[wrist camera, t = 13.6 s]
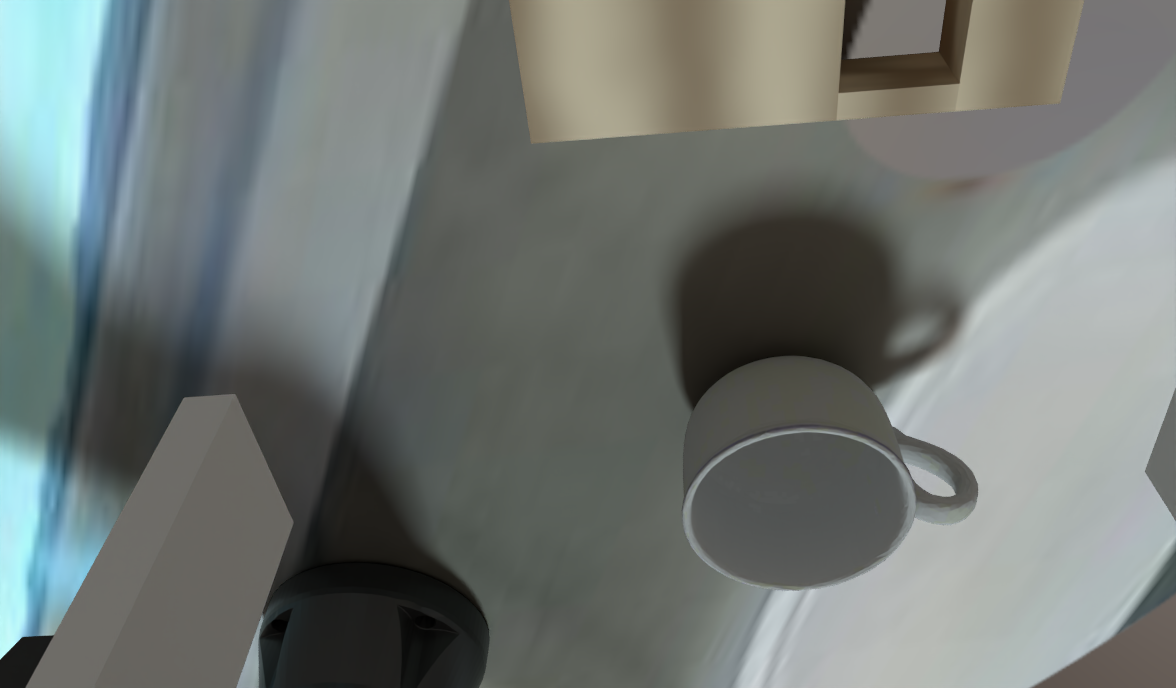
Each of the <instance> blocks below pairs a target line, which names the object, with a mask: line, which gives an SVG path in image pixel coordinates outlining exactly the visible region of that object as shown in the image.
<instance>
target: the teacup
mask: <svg viewBox="0 0 1176 688" xmlns="http://www.w3.org/2000/svg"><path fill="white" fill-rule="evenodd" d="M904 463H907V464H910V465H913V466H916V467H919V468H921V469H924V470H926V471H928V472H930V473H932V474H934V475H936V476H938V477H939V478H941V479H942V480H944V481H945V482H946V483H948V484H949V485H950V486H951V487H952V488H953V489H954V491H955V493H956V495H954V496H951V497H942V496H937V495H932V494H930V493H928V492H926V491H925V490H923V489H922V488H921V487H920V486H918V485H917V484H916V483H915V481H914V480H913V479H912V477H911V475H910V472H909V470H908V468H907V467H906V465H905V464H904ZM683 484H684V500H683V506H682V522H683V527H684V531H685V535H686V537H687V539H688V541H689V543H690V545H691V547H692V548H693V550H694V551H695V552H696V553H697V554H698V555H699V557H700V558H701V559H702V560H703V561H704V562H706V563H707V564H708V565H709V566H711V567H712V568H713V569H715V570H716V571H718V572H720V573H722V574H723V575H725V576H727V577H729V578H731V579H733V580H736V581H739V582H741V583H744V584H748V585H751V586H754V587H759V588H763V589H772V590H784V591H788V590H792V591H799V590H806V589H819V588H823V587H828V586H833V585H837V584H840V583H843V582H846V581H849V580H851V579H853V578H856V577H858V576H860V575H862V574H864V573H866V572H868V571H870V570H872V569H873V568H875V567H876V566H877V565H879V564H880V563H882V562H883V561H885V560H886V559H887V558H888V557H889V556H890V555H891V554H892V553H893V552H894V551H895V550H896V549H897V548H898V546H899V545H900V544H901V542H902V541H903V540H904V538H905V536H906V535H907V533H908V532H909V530H910V528H911V526H912V523H913V521H914V517H915V518H917V519H919V520H922V521H925V522H928V523H932V524H939V525H952V524H955V523H958V522H960V521H962V520H964V519H966V518H967V517H968V516H969V514H970V513H971V512H972V511H973V509H974V508H975V505H976V502H977V497H978V483H977V481H976V479H975V476H974V474H973V472H972V471H971V470H970V469H969V467H968V466H967V465H966V464H965V463H964V462H963V461H962V460H960V459H959V458H957V457H956V456H954V455H953V454H951V453H949V452H947V451H946V450H944V449H942V448H940V447H937V446H935V445H932V444H930V443H927V442H924V441H921V440H918V439H915V438H912V437H909V436H906V435H904V434H903V433H902V432H901V431H899V430H898V429H896V428H895V427H892V425H891V423H890V421H889V418H888V416H887V414H886V412H885V410H884V408H883V406H882V404H881V402H880V401H879V399H878V397H877V396H876V395H875V394H874V392H873V391H872V390H871V389H870V388H869V387H868V386H867V385H866V384H865V383H864V382H863V381H862V380H861V379H860V378H858V377H857V376H856V375H854V374H853V373H852V372H850V371H848V370H846V369H844V368H843V367H841V366H838V365H836V364H833V363H830V362H828V361H825V360H822V359H816V358H811V357H805V356H779V357H771V358H767V359H762V360H758V361H755V362H752V363H749V364H746V365H744V366H741V367H739V368H737V369H735V370H733V371H732V372H730V373H728V374H726V375H725V376H724V377H722V378H721V379H720V380H718V381H717V382H716V383H715V384H714V385H713V386H711V387H710V388H709V389H708V390H707V391H706V393H705V394H704V395H703V396H702V397H701V399H700V400H699V402H698V403H697V405H696V407H695V409H694V410H693V412H692V414H691V417H690V419H689V422H688V425H687V429H686V434H685V441H684V452H683Z"/></svg>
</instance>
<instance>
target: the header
mask: <svg viewBox="0 0 1176 688" xmlns="http://www.w3.org/2000/svg"><path fill="white" fill-rule="evenodd" d="M509 3H510V9H511V15H512V22H513V28H514V35H515V41H516V48H517V54H518V61H519V67H520V74H521V80H522V87H523V93H524V100H525V106H526V113H527V119H528V126H529V132H530V138H531V144H532V143H545V142H558V141H571V140H584V139H597V138H611V137H624V136H637V135H650V134H663V133H676V132H690V131H703V130H716V129H729V128H742V127H755V126H769V125H782V124H795V123H808V122H821V121H835V120H848V119H861V118H874V117H886V116H900V115H914V114H927V113H940V112H952V111H966V110H979V109H991V108H1006V107H1017V106H1032V105H1045V104H1059V103H1060V101H1061V97H1062V92H1063V88H1064V84H1065V80H1066V76H1067V71H1068V67H1069V63H1070V59H1071V54H1072V50H1073V45H1074V41H1075V37H1076V33H1077V29H1078V24H1079V20H1080V16H1081V12H1082V7H1083V3H1084V0H946V6H945V13H944V20H943V27H942V34H941V41H940V48H939V52H932V53H920V54H908V55H895V56H883V57H873V58H872V57H871V58H859V59H846V60H841V52H842V38H843V25H844V11H845V0H509Z"/></svg>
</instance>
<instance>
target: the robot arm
mask: <svg viewBox="0 0 1176 688" xmlns="http://www.w3.org/2000/svg"><path fill="white" fill-rule="evenodd" d="M1145 472H1146V474H1147V476H1148V477H1149V479H1150V480H1151V482H1152V484H1153V485H1154V487H1155V488H1156V490H1157V492H1158V493H1159V495H1160V496H1161V498H1162V500H1163V501H1164V503H1165V504H1166V506H1167V508H1168V509H1169V511H1170V512H1171V514H1172V516H1173V517H1174V519H1175V520H1176V389H1175V391H1174V394H1173V397H1172V399H1171V402H1170V405H1169V408H1168V410H1167V413H1166V416H1165V418H1164V421H1163V424H1162V426H1161V429H1160V432H1159V435H1158V437H1157V440H1156V443H1155V445H1154V448H1153V451H1152V454H1151V456H1150V459H1149V462H1148V464H1147V467H1146V470H1145ZM293 523H294V522H293V520H292V518H291V515H290V513H289V511H288V509H287V506H286V504H285V502H284V500H283V498H282V495H281V493H280V491H279V489H278V487H277V484H276V482H275V480H274V478H273V476H272V473H271V471H270V469H269V467H268V465H267V462H266V460H265V458H264V456H263V454H262V451H261V449H260V447H259V445H258V443H257V440H256V438H255V436H254V434H253V432H252V429H251V427H250V425H249V423H248V421H247V418H246V416H245V414H244V412H243V410H242V407H241V405H240V403H239V401H238V399H237V396H236V394H226V395H212V396H199V397H185V398H183V400H182V402H181V404H180V406H179V407H178V409H177V411H176V413H175V415H174V417H173V418H172V420H171V422H170V424H169V426H168V428H167V429H166V431H165V433H164V435H163V437H162V439H161V440H160V442H159V444H158V446H157V448H156V450H155V451H154V453H153V455H152V457H151V459H150V461H149V462H148V464H147V466H146V468H145V470H144V472H143V473H142V475H141V477H140V479H139V481H138V483H137V484H136V486H135V488H134V490H133V492H132V494H131V495H130V497H129V499H128V501H127V503H126V505H125V506H124V508H123V510H122V512H121V514H120V516H119V517H118V519H117V521H116V523H115V525H114V526H113V528H112V530H111V532H110V534H109V536H108V537H107V539H106V541H105V543H104V545H103V547H102V548H101V550H100V552H99V554H98V556H97V558H96V559H95V561H94V563H93V565H92V567H91V569H90V570H89V572H88V574H87V576H86V578H85V580H84V581H83V583H82V585H81V587H80V589H79V591H78V592H77V594H76V596H75V598H74V600H73V602H72V603H71V605H70V607H69V609H68V611H67V613H66V614H65V616H64V618H63V620H62V622H61V624H60V625H59V627H58V629H57V631H56V633H55V635H53V636H33V637H22V638H21V639H20V640H19V641H18V642H17V643H16V644H15V645H14V646H13V647H12V648H11V649H10V650H9V651H8V652H7V653H6V654H5V655H4V656H3V657H2V658H1V659H0V688H236V687H237V684H238V681H239V678H240V675H241V672H242V669H243V667H244V664H245V661H246V658H247V655H248V652H249V649H250V646H251V644H252V641H253V638H254V635H255V632H256V629H257V626H258V624H259V621H260V618H261V615H262V612H263V609H264V606H265V604H266V601H267V598H268V595H269V592H270V589H271V586H272V584H273V581H274V578H275V575H276V572H277V569H278V566H279V563H280V561H281V558H282V555H283V552H284V549H285V546H286V543H287V541H288V538H289V535H290V532H291V529H292V526H293ZM258 645H259V688H479V686H480V684H481V682H482V680H483V677H484V673H485V670H486V663H487V656H488V648H489V631H488V628H487V625H486V622H485V620H484V618H483V617H482V615H481V614H480V612H479V611H478V610H477V609H476V607H475V606H474V605H473V604H472V603H471V602H470V601H469V600H467V599H466V598H465V597H464V596H463V595H461V594H460V593H458V592H457V591H456V590H454V589H452V588H451V587H449V586H447V585H445V584H444V583H442V582H440V581H438V580H435V579H433V578H431V577H428V576H426V575H423V574H420V573H417V572H414V571H411V570H407V569H403V568H398V567H394V566H388V565H381V564H371V563H342V564H333V565H327V566H322V567H318V568H314V569H311V570H308V571H305V572H303V573H300V574H298V575H296V576H294V577H292V578H291V579H289V580H288V581H286V582H285V583H284V584H282V585H281V586H280V587H279V588H278V589H277V591H276V592H275V593H274V595H273V596H272V598H271V600H270V603H269V605H268V608H267V611H266V614H265V617H264V620H263V623H262V626H261V629H260V634H259V644H258Z"/></svg>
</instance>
